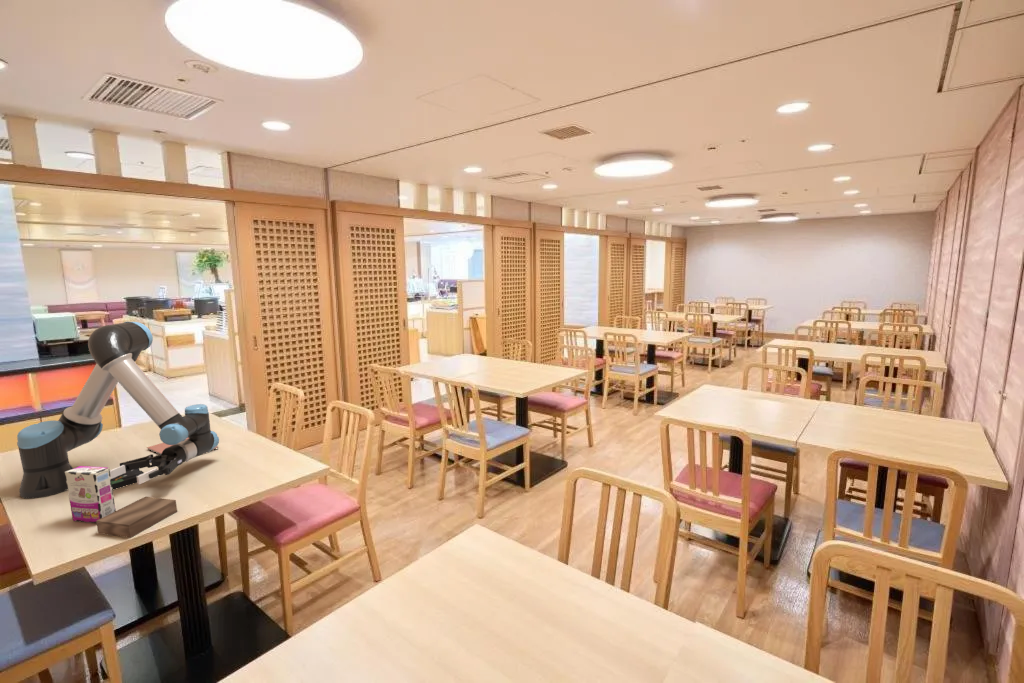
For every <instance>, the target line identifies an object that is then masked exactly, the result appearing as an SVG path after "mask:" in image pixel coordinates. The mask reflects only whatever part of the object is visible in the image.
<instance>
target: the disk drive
mask: <svg viewBox="0 0 1024 683" xmlns="http://www.w3.org/2000/svg"><path fill="white" fill-rule="evenodd" d="M143 473H145V472H144V471H143V470H140V469H135V470H130V471H126V473H125V474H122V475H119V476H117V477H115V478H112V479H111V483H112V490H113V489H115V490H117V489H116V488H118V489H121V488H124V487H123V486H125V487H127V486H126V485H128V486H130V484H131V485H134V484H136V483H137V476H139V475H141V474H143ZM133 483H134V484H133ZM137 484H138V483H137ZM120 487H121V488H120ZM113 491H114V490H113Z"/></svg>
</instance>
